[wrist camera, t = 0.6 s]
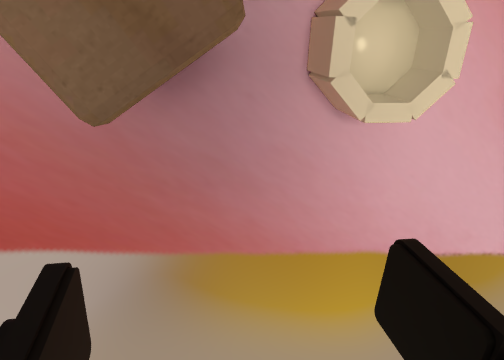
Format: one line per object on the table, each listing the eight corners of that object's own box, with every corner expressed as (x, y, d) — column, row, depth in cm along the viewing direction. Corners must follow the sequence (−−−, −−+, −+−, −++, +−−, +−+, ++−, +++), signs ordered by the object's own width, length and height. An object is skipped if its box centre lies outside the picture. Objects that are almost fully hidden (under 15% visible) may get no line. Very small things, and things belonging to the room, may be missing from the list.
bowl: (316, -33, 34) (342, -44, 29) (441, -23, 37) (486, -32, 32) (303, 110, 40) (323, 123, 34) (412, 109, 43) (447, 121, 37)
